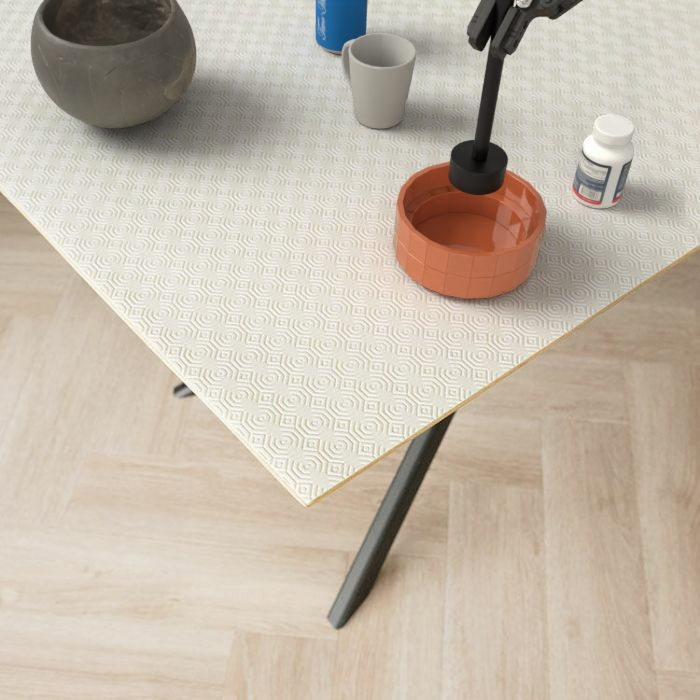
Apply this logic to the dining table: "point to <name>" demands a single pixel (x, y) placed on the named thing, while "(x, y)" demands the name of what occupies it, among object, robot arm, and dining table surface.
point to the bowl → (113, 58)
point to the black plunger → (483, 131)
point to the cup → (379, 77)
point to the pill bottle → (604, 162)
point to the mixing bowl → (467, 234)
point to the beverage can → (339, 22)
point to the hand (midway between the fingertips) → (485, 50)
